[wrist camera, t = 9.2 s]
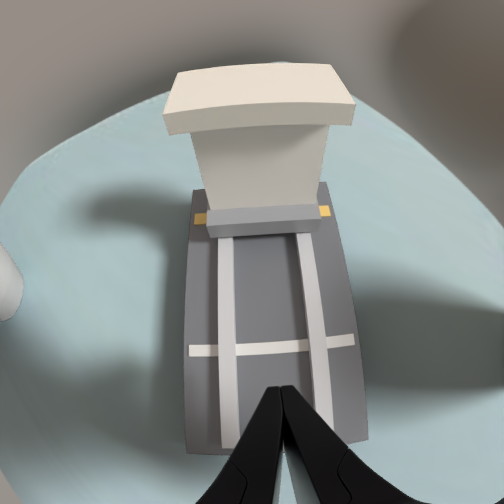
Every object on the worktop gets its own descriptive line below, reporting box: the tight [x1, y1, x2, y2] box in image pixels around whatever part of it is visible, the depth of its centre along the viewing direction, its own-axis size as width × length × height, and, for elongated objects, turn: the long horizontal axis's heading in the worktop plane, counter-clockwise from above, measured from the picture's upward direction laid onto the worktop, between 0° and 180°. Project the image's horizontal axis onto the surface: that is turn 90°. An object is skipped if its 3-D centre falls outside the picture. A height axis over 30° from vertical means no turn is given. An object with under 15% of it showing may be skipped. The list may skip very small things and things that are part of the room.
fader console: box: [184, 182, 368, 455], centre depth 15 cm, size 16×9×3 cm, turn 3°
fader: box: [163, 63, 356, 238], centre depth 13 cm, size 4×7×8 cm, turn 93°
